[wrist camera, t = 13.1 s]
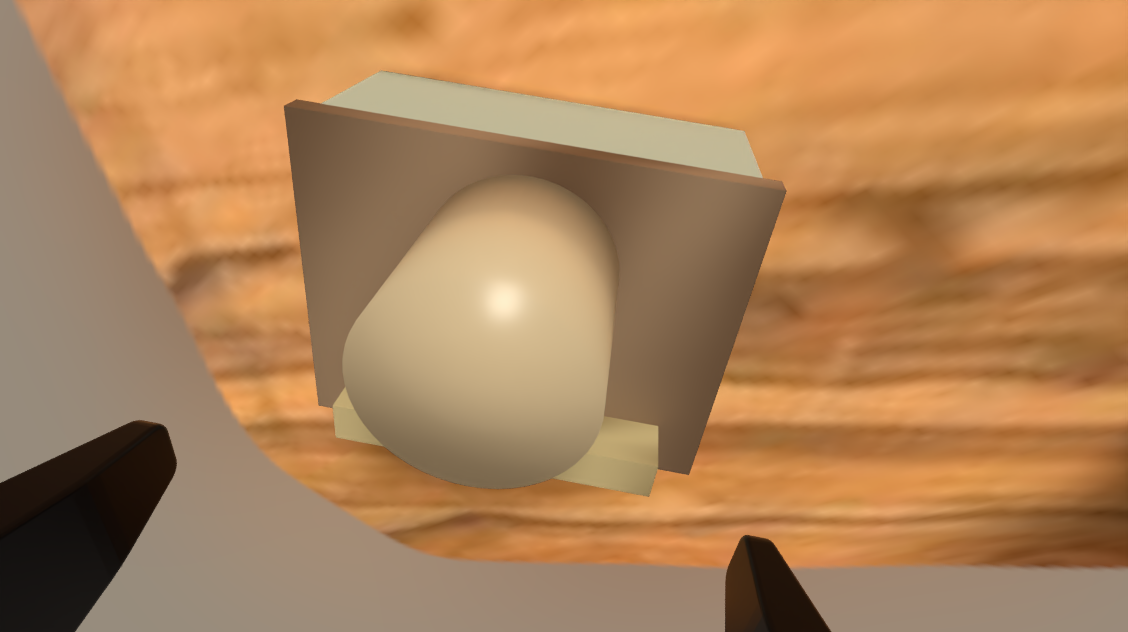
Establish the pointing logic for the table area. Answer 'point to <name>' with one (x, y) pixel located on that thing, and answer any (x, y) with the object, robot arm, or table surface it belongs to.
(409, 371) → the dome-topped beige cylinder
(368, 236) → the lid
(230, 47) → the table surface
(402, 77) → the box body
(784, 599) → the robot arm
